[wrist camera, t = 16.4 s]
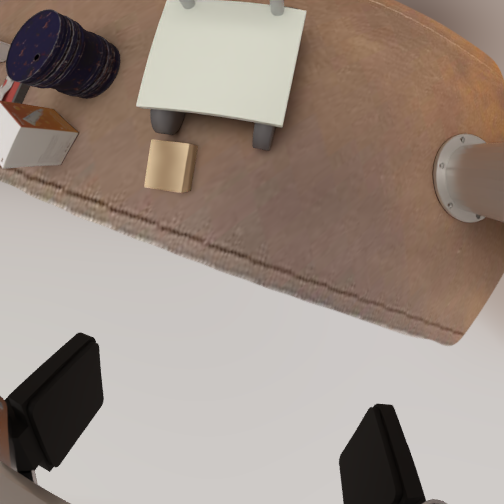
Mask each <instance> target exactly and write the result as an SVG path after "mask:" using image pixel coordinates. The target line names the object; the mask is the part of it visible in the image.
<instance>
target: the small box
mask: <svg viewBox="0 0 504 504" xmlns="http://www.w3.org/2000/svg"><path fill="white" fill-rule="evenodd" d="M78 133H79V132H78V131H76V130H75V129H74V128H73V127H72V126H70V125H69V124H68V123H67V122H66V121H65V120H64V119H63V118H62V117H61V116H60V115H59V114H58V113H57V112H56V111H55V110H54V109H49V108H44V107H38V106H32V105H26V104H19V103H13V102H6V101H0V165H1V167H2V168H3V169H4V168H16V167H31V166H49V165H61V163H62V161H63V160H64V158H65V156H66V154H67V152H68V151H69V149H70V147H71V145H72V144H73V142H74V140H75V138H76V137H77V135H78Z"/></svg>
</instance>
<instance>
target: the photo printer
mask: <svg viewBox="0 0 504 504" xmlns="http://www.w3.org/2000/svg"><path fill="white" fill-rule="evenodd" d="M9 48H10V44H8V43H5V42H2V41H0V62H4V61H6V59H7V55H8V51H9Z"/></svg>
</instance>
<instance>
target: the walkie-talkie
mask: <svg viewBox="0 0 504 504" xmlns="http://www.w3.org/2000/svg"><path fill="white" fill-rule="evenodd" d="M29 87H30V86H29V85H26V84H24V83H19V82H15V81H12V80H11V79H10V78H9V77H8V75H7V77H6V79H5V81H4V83H3V85H2V86H1V87H0V101H6V102H13V103H19V104H22V102H23V100H24V98H25V95H26V93H27V91H28V90H29Z"/></svg>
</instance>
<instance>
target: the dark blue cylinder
mask: <svg viewBox="0 0 504 504" xmlns="http://www.w3.org/2000/svg"><path fill="white" fill-rule="evenodd" d="M119 67H120V54H119V51H118V49H117V48H116V47H115V46H114V45H113V44H111V43H109V42H108V41H107V40H106V39H104V38H103V37H101V36H99V35H96V34H95V33H92V32H88V31H86V30H85V29H83V28H82V27H81V25H79V23H77V22H76V21H73V20H72V19H70V18H69V17H67V16H64V15H61V14H59V13H58V12H56V11H54V10H51V9H50V10H43V11H41V12H38V13H37V14H35V15H34V16H32V17H31V18H30V19H29V20H28V21H26V23H25V24H24V25H23V26H22V27H21V28H20V30H19V31H18V32H17V34H16V36H15V37H14V39H13V41H12V43H11V45H10V48H9V51H8V55H7V60H6V71H7V75H8V77H9V78H10V79H11V80H12V81H15V82H19V83H24V84H26V85H29V86H34V87H38V88H53V89H56V90H57V91H59V92H61V93H64V94H67V95H70V96H76V97H81V98H86V99H88V98H93V97H96V96H98V95H100V94H101V93H103V92H104V91H105V90H106V89H107V88H108V87H109V86H110V85H111V84H112V82H113V81H114V79H115V78H116V75H117V73H118V70H119Z"/></svg>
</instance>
